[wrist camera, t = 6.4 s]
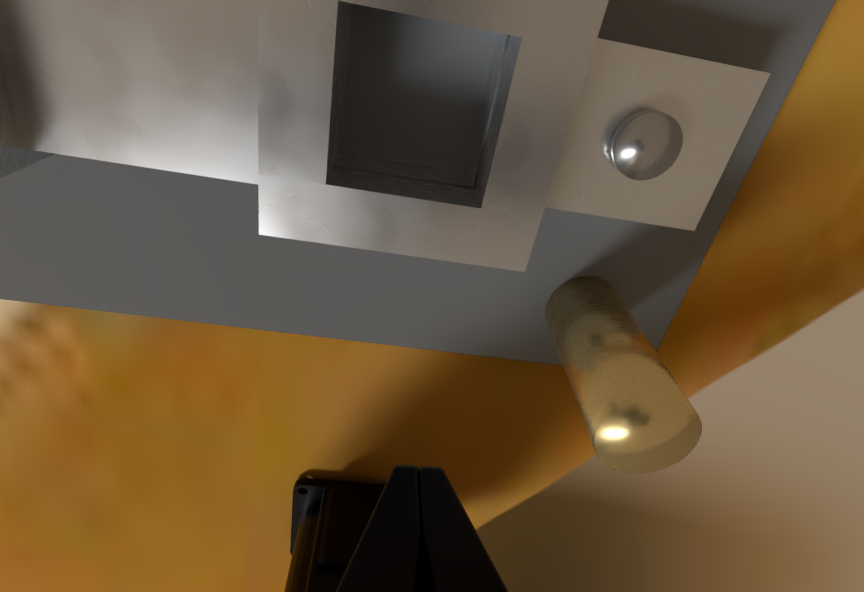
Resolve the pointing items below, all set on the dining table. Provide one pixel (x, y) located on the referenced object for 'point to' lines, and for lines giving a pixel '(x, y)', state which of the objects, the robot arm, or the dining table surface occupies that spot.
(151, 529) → the dining table surface
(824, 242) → the dining table surface
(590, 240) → the gray rectangular board
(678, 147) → the grey slotted plate
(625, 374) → the brass pin
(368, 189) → the metal latch plate
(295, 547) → the robot arm
